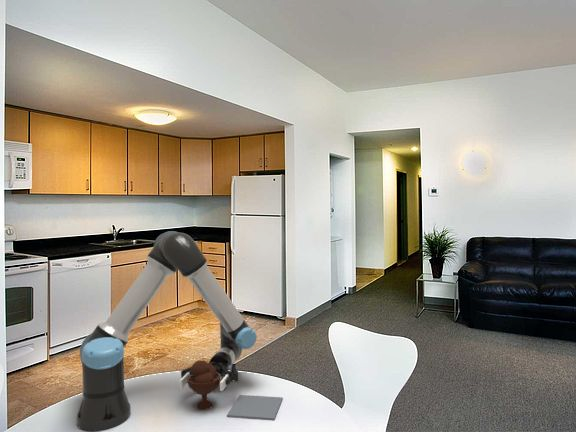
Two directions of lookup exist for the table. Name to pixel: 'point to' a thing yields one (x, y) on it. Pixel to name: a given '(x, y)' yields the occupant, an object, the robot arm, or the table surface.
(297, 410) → the table surface
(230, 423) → the table surface
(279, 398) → the slate mat
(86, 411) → the robot arm
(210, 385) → the ice cream bowl
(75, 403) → the table surface
